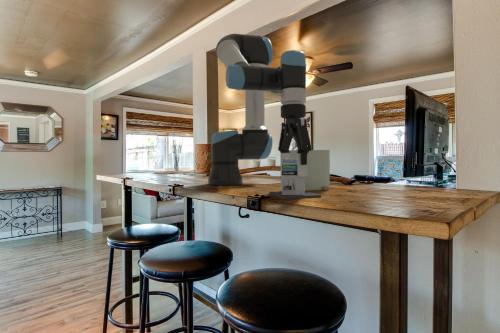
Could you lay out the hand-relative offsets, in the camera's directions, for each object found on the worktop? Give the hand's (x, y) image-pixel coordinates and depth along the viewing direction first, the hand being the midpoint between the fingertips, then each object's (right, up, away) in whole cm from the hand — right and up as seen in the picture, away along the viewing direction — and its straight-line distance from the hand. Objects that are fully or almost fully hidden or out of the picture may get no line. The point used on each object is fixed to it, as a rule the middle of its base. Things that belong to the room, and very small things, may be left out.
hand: (293, 174), depth 89 cm
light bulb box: (0, -6, 0) cm, 6 cm away
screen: (+6, -6, +13) cm, 15 cm away
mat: (0, -6, 0) cm, 6 cm away
